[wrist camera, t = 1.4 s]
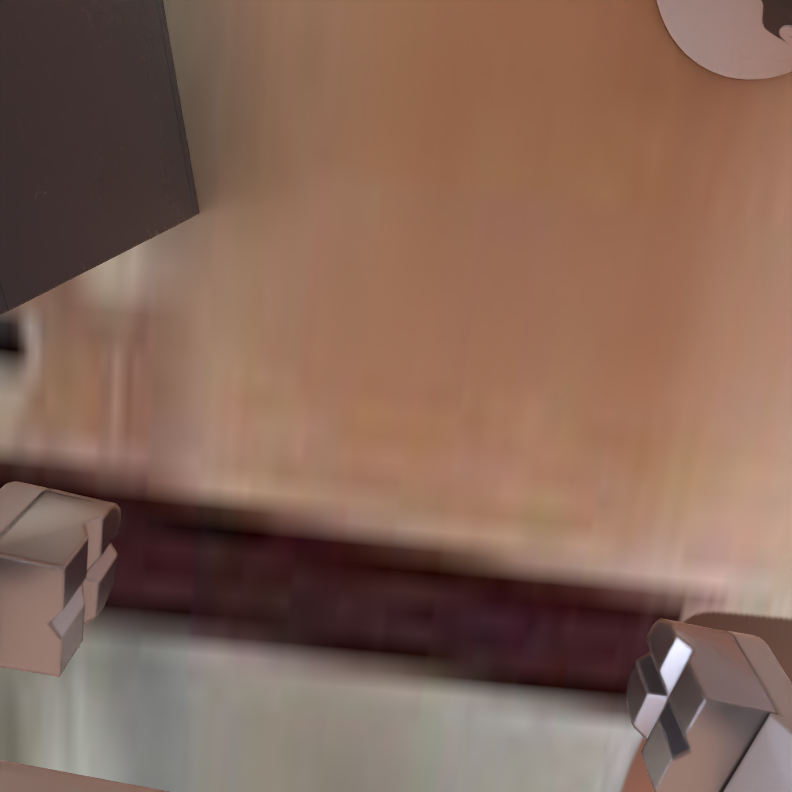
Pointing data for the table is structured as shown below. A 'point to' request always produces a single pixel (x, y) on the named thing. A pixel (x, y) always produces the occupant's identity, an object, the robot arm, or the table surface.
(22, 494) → the robot arm
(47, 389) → the table surface
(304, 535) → the table surface
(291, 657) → the table surface
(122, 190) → the cupboard
